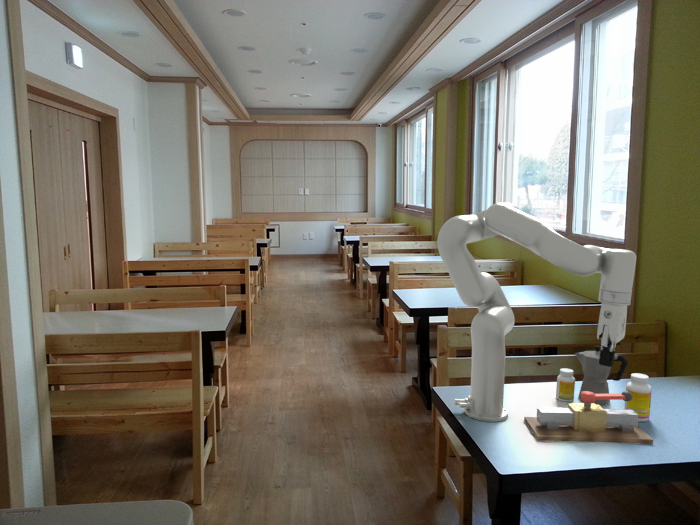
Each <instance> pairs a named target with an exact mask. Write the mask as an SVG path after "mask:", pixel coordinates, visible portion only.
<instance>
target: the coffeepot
mask: <svg viewBox="0 0 700 525" xmlns="http://www.w3.org/2000/svg"><path fill="white" fill-rule="evenodd" d="M594 349H595V350H585V351H580V352H579V351H577V352H575V353H574V356H576V358H577V359H578V361H579V363H580V365H581V367H582V368H581V369H582V374H583V379H582V382H581V386H580V389H579V393H578V400H579V401H581V392H582V391H589V392H593V393H595V394H610V388H609V383H608V377H609V376H610V374H611V369H612V367H608V366H604V365H600V364H599V358H600V350H601V345H594ZM614 362H621V364H620V367H619V370H618V371H617V374H616V376H615V377H611V379H612V381H614V382H618V381H620V380H621V379H622V377H623V374H624V372H625V370H626V368H627V367H628V364H629V362H628V360H627V358H626V357H625V356H624V355H621V354H615V356H614ZM610 402H611V400H595V402H594V404H597V405H604V406H608V405H609V404H610ZM608 403H609V404H608Z"/></svg>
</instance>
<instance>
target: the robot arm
mask: <svg viewBox="0 0 700 525" xmlns="http://www.w3.org/2000/svg"><path fill="white" fill-rule="evenodd" d="M496 236H501V237H504V238H506V239H507V240H509V241H512V242H513V243H516V244H518V245H520V246H522V247H524V248H526V249H528V250H529V251H531V252H532V253H534V254H535V255H536V256H538V257H541V258H542V259H543V260H545V261H547V262H549V263H551V264H552V265H554V266H556V267H559V268H561V269H562V270H564V271H567V272H568V273H570V274H573V275H575V276H580V277H588V276H591V275H593V274H597V273H599V274H601V276H600V283H599V292H598V293H599V294H598V299H597V300H598V302H599V303H601V307H600V309H599V310H600V311H599V318H598V322H597V323H598V325H597V329H596V330H597V331H596V332H597V334H596V337H597V340H599V341H601V343H600V358H599V364H600V365H604V366H608V367H611V368H612V367H613V366H614V362H615V361H614V356H615V355H616V345H617V344H618V343H619V342H621V340H624V338H625V335H626V328H627V327H626V326H627V319H628V318H627V317H628V316H627V315H628V306H631V300H632V293H633V287H634V285H633V284H634V279H635V273H636V272H635V271H636V265H637V263H636V262H637V254H636V253H635V252H634V251H632V250H629V249H624V248H623V249H622V248H606V247H601V246H597V245H592V244H586V245H581V244H579V243H577V242H575V241H573V240H571V239H568V238H567V237H565V236H563V235H561V234H560V233H558V232H557V231H555V230H554V229H553V228H552V226H551V225H550V224H548V223H547V222H545V221H544V220H541V219H540V218H536V217H535V216H532V215H531V214H528V213H526V212H524V211H522V210H521V209H520V208H519V207H518V206H517V205H516V204H513V203H511V202H497V203H493V204H492V205H490V206H489V207H488V208H487V209H484V210H482V211H479V212H475V213H472V214H464V215H461V214H460V215H456V216H453V217H451V218H449V219H448V220H446V221H445V223H444V224H443V225H442V226H441V227H440V229H439V232H438V235H437V250H438V254H439V255H440V259H441V260H442V262H443V264H444V267H445V268H446V270H447V272H448V275H449V278H450V279H451V281H452V284H453V285H454V288H455V289H456V292H457V294H458V297H459V298H460V301H461V302H462V303H463V304H464V305H465V306H467V307H469V308H476V309H477V310H478V312H477V313H476V314H475V315H474V317H473V319H472V321H471V325H470V336H471V368H470V369H471V370H470V371H471V372H470V394H468V395H467V397H464V398H453V405H454V406H459V408H460V409H461V408H463V409H464V413H465V415H466V416H468V417H470V419H471V418H472V419H473V420H474V419H475V420H477V421H482V422H490V423H491V422H493V423H494V422H501V421H504V420H506V419H507V418H508V417H509V411H508V410H507V408H505V407H504V394H505V393H504V392H505V390H504V389H505V373H506V346H505V345H506V344H505V337H506V335H507V334H508V333H510V331H512V330H513V328H514V326H515V322H516V319H515V314H514V312H513V309H512V307H511V305H510V303H509V301H508V299H507V297H506V295H505V293H504V291H503V289H502V287H501V285H500V284H499V281H498V280H497V279H496V278H495V277H494V275H492V274H490V273H488V272H485V271H484V272H481V270H480V269H479V266H478V265H477V263H476V260H475V258H474V257H473V254H471V253H470V251H469V250H468V248H467V244H472V243H476V242H480V241H483V240H485V239H489V238H494V237H496Z"/></svg>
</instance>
